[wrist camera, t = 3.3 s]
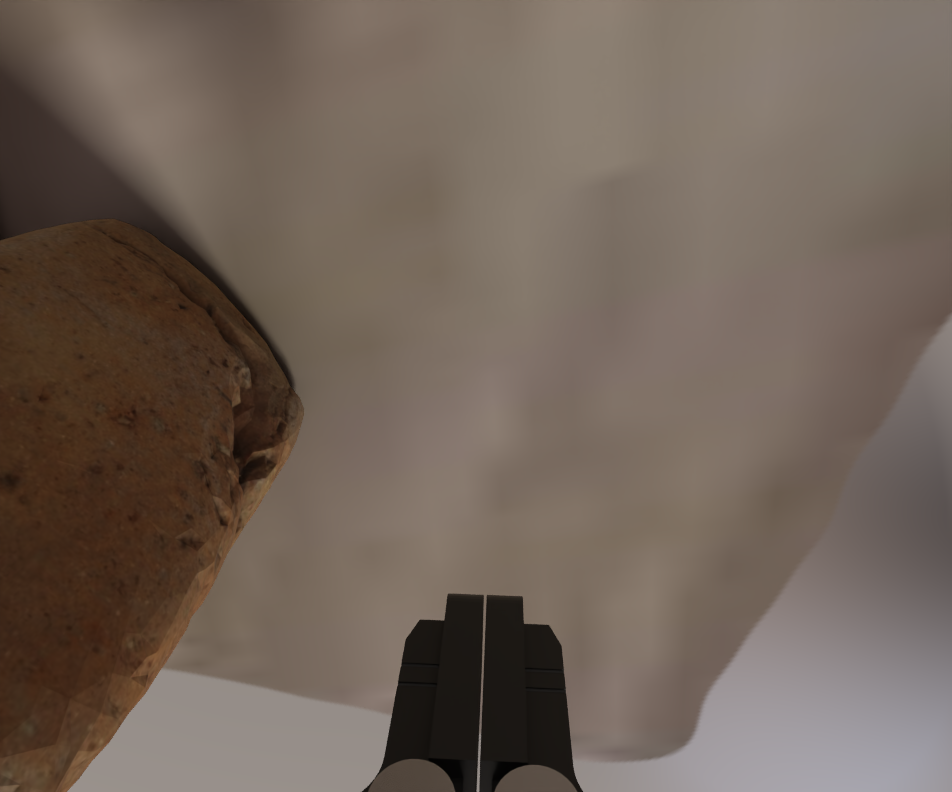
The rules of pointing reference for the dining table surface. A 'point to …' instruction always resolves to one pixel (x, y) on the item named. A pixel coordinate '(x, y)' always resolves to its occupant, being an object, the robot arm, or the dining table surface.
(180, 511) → the brown rounded piece
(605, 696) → the dining table surface
